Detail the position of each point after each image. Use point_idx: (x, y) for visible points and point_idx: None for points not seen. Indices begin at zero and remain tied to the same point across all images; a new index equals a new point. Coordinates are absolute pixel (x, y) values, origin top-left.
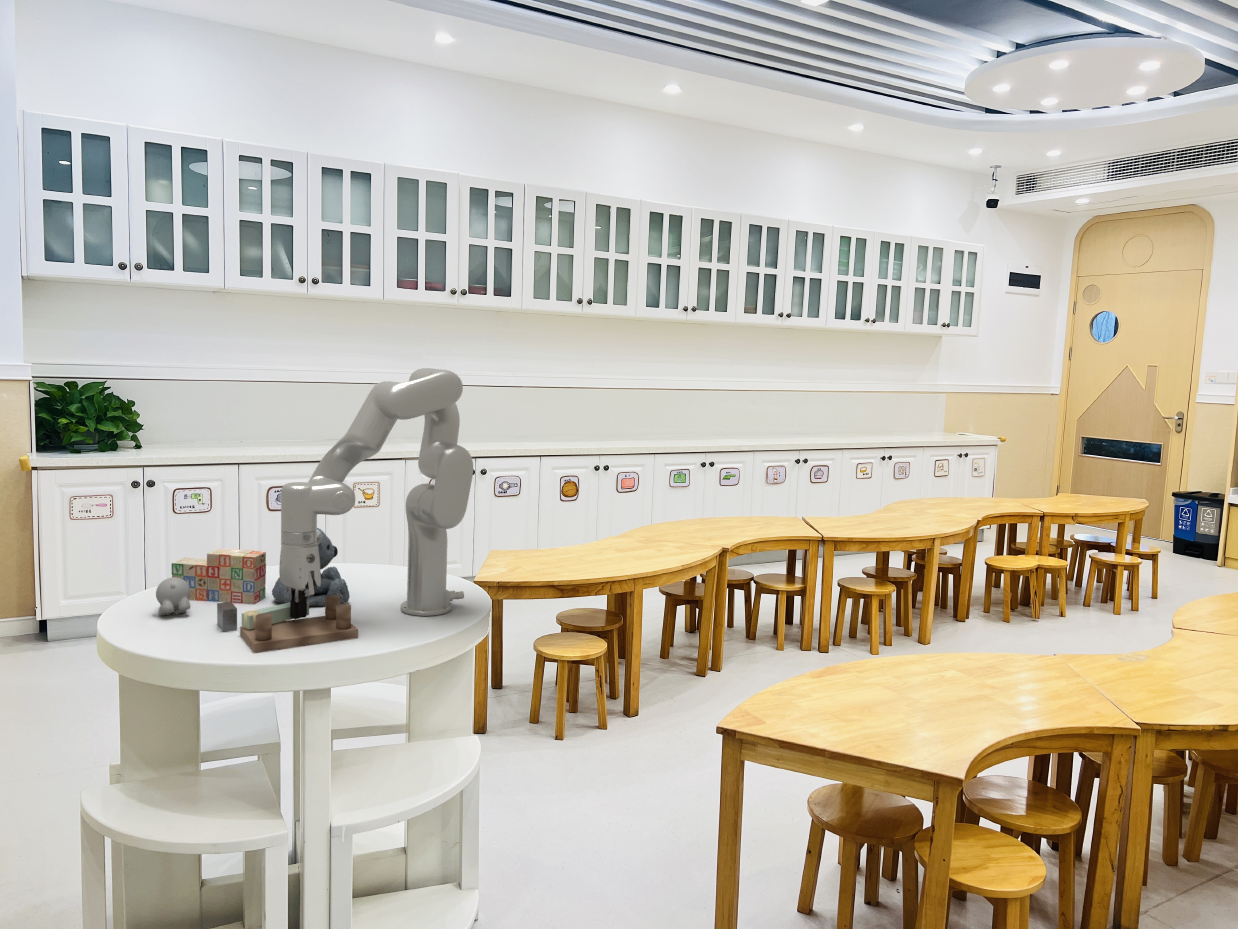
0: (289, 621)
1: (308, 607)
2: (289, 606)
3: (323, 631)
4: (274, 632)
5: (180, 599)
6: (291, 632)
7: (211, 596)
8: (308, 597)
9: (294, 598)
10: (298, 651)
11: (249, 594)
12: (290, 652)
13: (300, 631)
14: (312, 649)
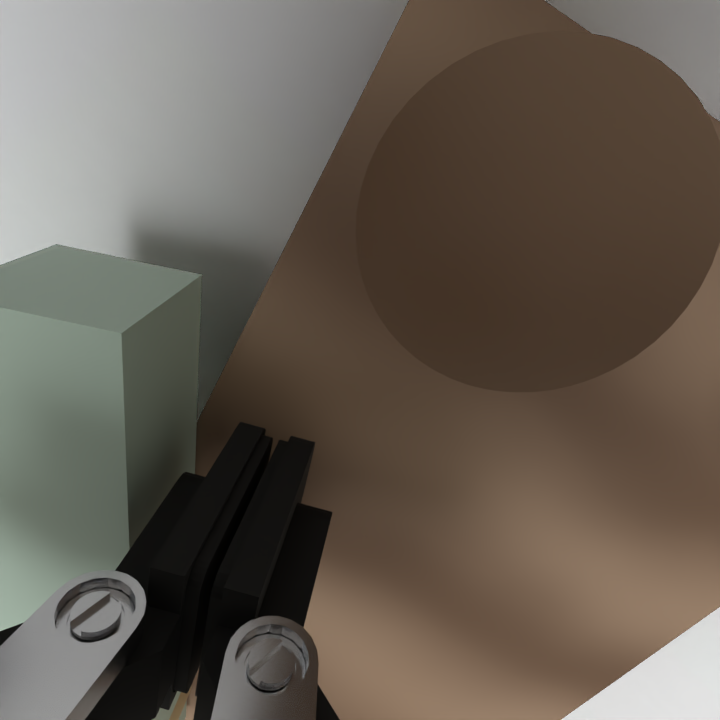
0: None
1: (158, 313)
2: (115, 567)
3: (684, 558)
4: (343, 685)
5: None
6: (448, 654)
7: None
8: (317, 683)
9: (153, 710)
10: (618, 692)
11: None
12: (583, 713)
13: (492, 618)
14: (686, 647)
